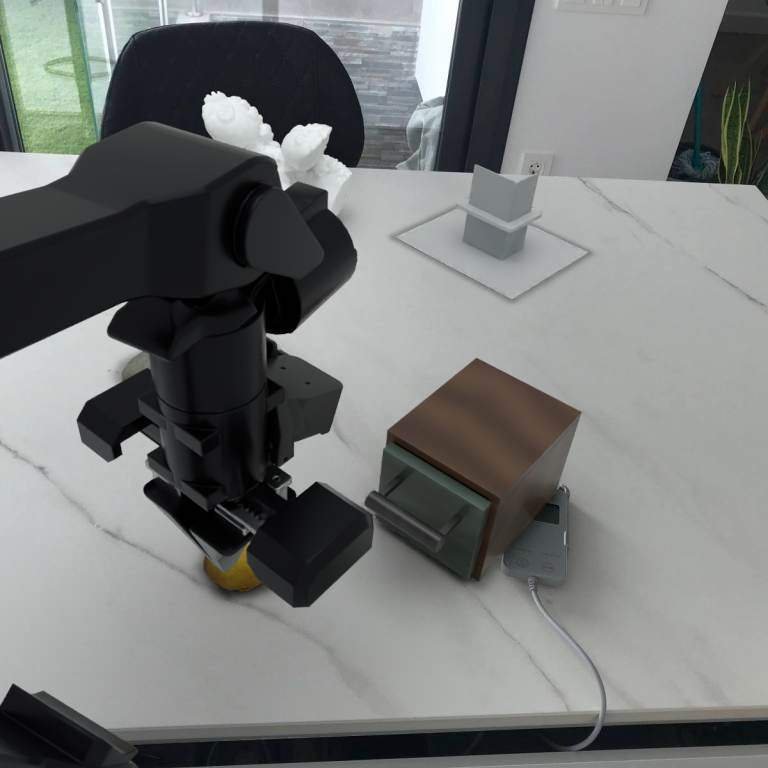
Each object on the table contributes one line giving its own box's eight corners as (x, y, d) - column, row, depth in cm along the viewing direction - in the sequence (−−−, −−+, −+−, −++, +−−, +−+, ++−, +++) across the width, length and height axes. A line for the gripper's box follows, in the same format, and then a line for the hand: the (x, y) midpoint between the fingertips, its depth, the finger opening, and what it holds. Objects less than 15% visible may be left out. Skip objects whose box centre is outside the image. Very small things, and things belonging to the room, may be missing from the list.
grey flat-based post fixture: (476, 199, 122) (488, 127, 114) (588, 252, 112) (610, 177, 104) (395, 237, 111) (402, 160, 103) (511, 299, 100) (529, 218, 93)
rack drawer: (439, 611, 62) (454, 541, 57) (346, 545, 67) (351, 474, 61) (540, 497, 73) (561, 429, 67) (453, 446, 77) (466, 378, 71)
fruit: (320, 574, 65) (321, 546, 63) (230, 619, 61) (227, 592, 59) (273, 509, 70) (272, 482, 68) (186, 547, 66) (183, 519, 64)
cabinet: (479, 582, 66) (500, 498, 59) (377, 514, 71) (387, 429, 64) (555, 493, 75) (582, 411, 68) (460, 438, 79) (476, 357, 73)
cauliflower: (156, 189, 97) (219, 65, 102) (201, 264, 115) (252, 156, 121) (295, 229, 93) (352, 99, 99) (318, 300, 112) (365, 187, 118)
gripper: (448, 385, 41) (417, 567, 51) (206, 253, 49) (220, 432, 59) (303, 504, 34) (300, 689, 44) (49, 327, 42) (95, 517, 52)
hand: (226, 565), depth 50 cm, fingers closed
